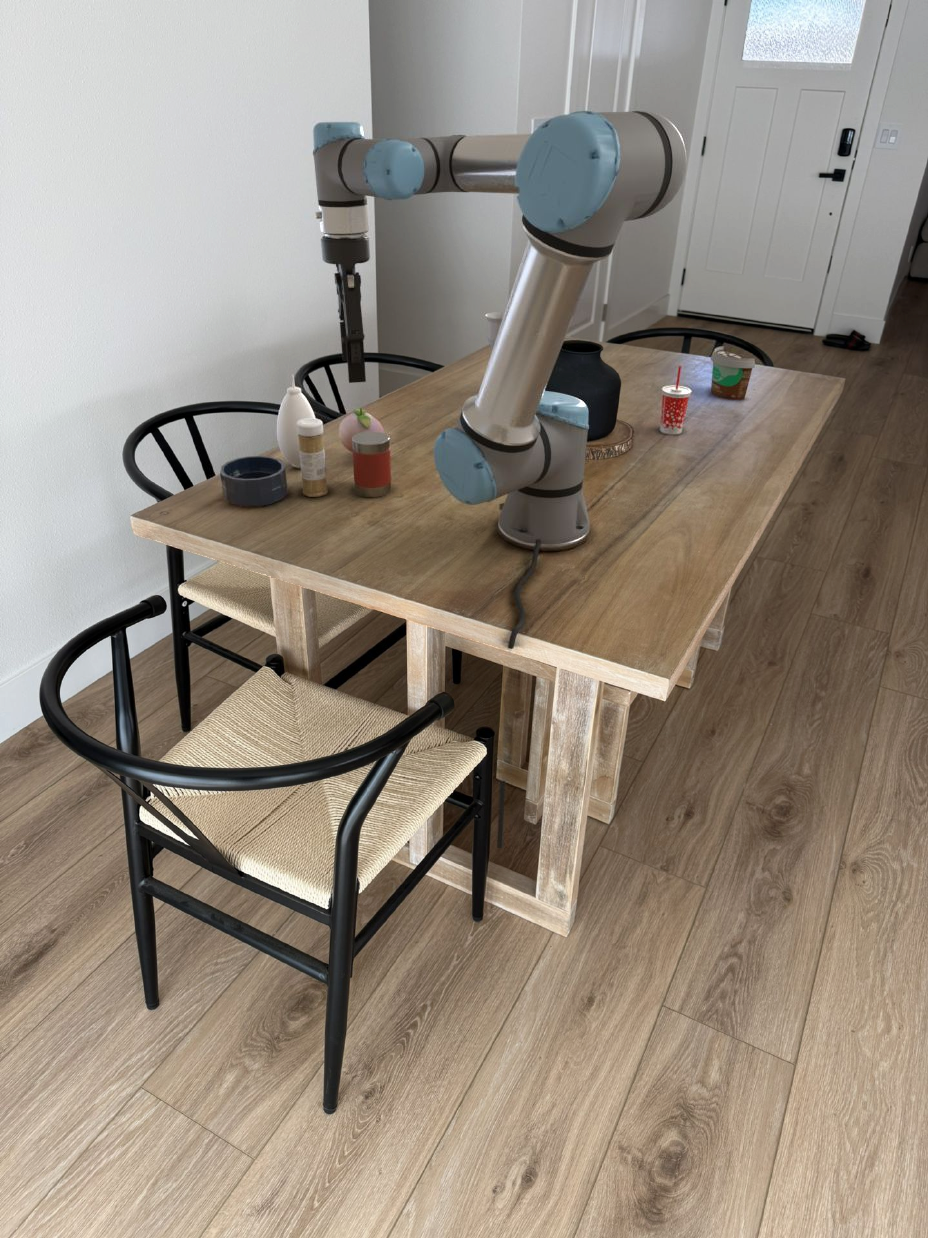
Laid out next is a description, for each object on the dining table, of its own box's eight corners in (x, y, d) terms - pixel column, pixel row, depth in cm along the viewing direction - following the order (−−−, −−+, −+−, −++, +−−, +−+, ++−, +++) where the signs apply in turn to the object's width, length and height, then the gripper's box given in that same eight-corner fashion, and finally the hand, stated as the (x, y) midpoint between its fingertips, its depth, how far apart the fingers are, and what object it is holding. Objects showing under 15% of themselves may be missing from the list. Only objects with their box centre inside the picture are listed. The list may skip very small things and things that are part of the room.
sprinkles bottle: (319, 485, 163) (313, 415, 156) (332, 493, 160) (327, 422, 153) (297, 492, 161) (291, 420, 154) (310, 500, 158) (304, 427, 151)
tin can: (393, 496, 160) (391, 443, 154) (355, 498, 159) (352, 445, 153) (389, 481, 165) (387, 430, 160) (353, 483, 164) (350, 432, 159)
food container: (694, 389, 216) (701, 348, 211) (715, 386, 218) (721, 345, 213) (727, 404, 206) (735, 361, 201) (748, 401, 209) (756, 358, 203)
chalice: (480, 395, 209) (481, 317, 199) (487, 387, 214) (489, 311, 205) (510, 399, 207) (513, 320, 197) (517, 390, 212) (520, 313, 203)
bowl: (287, 507, 155) (284, 478, 152) (222, 511, 153) (218, 481, 151) (288, 482, 164) (285, 454, 162) (226, 485, 163) (222, 457, 160)
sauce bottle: (276, 461, 173) (267, 369, 163) (316, 456, 175) (309, 366, 166) (284, 476, 167) (275, 382, 157) (325, 471, 169) (318, 378, 160)
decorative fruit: (334, 453, 177) (330, 404, 172) (372, 446, 180) (369, 398, 175) (351, 469, 170) (348, 419, 165) (390, 462, 173) (388, 412, 168)
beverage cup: (690, 433, 189) (701, 368, 182) (666, 437, 187) (675, 371, 180) (675, 424, 194) (684, 360, 187) (651, 427, 192) (659, 363, 185)
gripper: (316, 224, 148) (326, 353, 159) (325, 247, 127) (336, 393, 138) (361, 223, 149) (368, 350, 160) (377, 245, 128) (384, 390, 139)
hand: (353, 370), depth 149 cm, fingers open, 13 cm apart
